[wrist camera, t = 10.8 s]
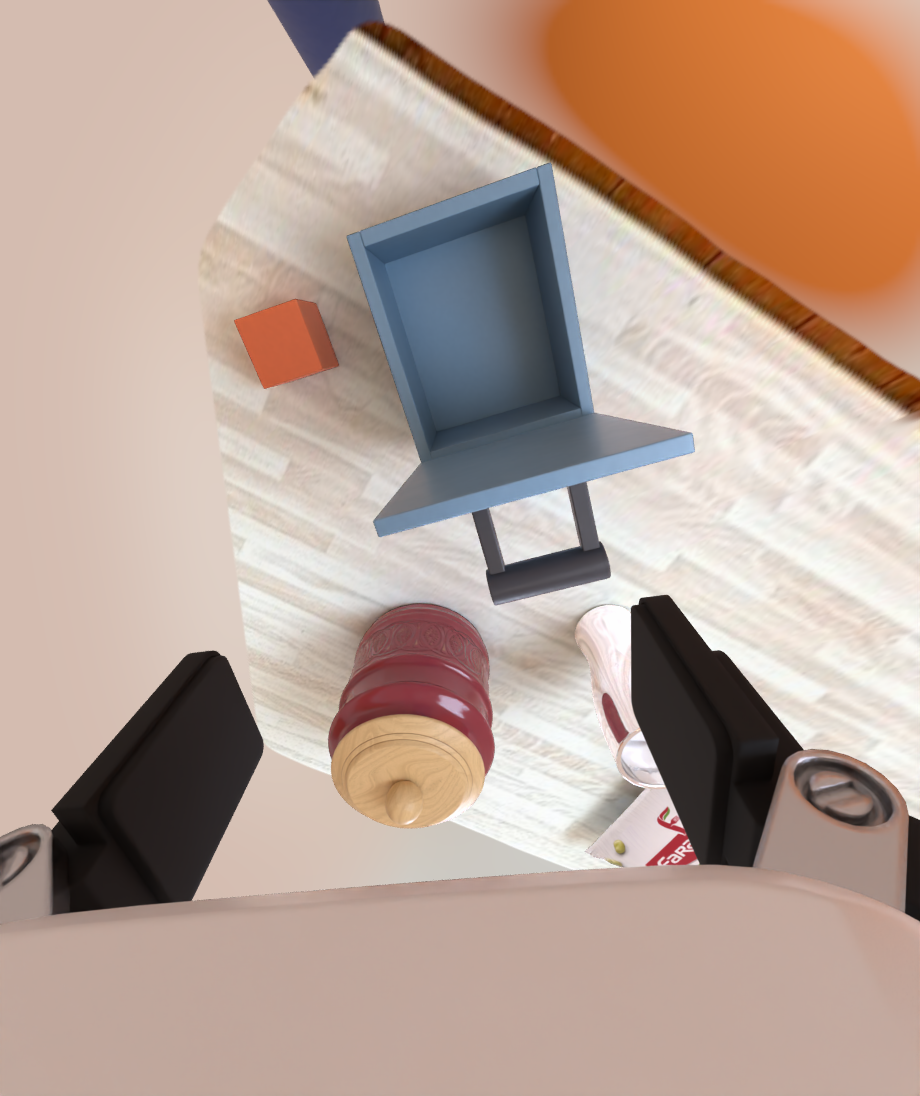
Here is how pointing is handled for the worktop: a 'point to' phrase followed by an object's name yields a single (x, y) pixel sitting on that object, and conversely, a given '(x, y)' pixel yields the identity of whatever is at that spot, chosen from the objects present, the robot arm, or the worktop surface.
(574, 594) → the worktop surface
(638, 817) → the frozen beans
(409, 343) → the blue hinged box
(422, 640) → the kitchen canister
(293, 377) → the orange cube
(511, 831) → the worktop surface
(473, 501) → the lid
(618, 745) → the silver metal tumbler
